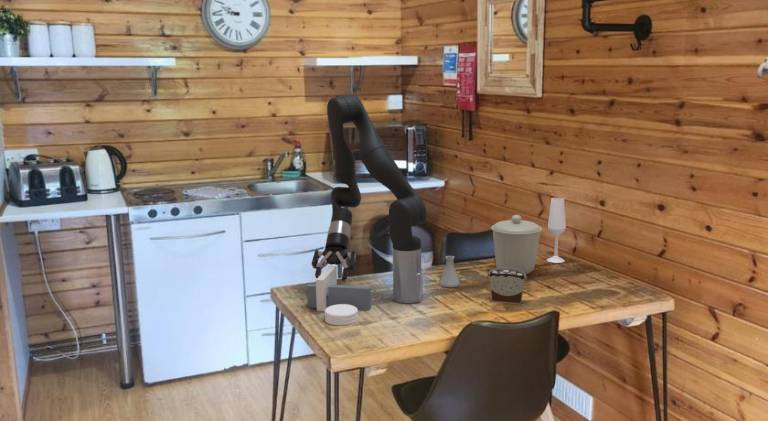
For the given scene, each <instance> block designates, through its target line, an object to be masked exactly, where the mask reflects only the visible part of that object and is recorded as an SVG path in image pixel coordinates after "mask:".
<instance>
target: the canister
mask: <svg viewBox="0 0 768 421" xmlns="http://www.w3.org/2000/svg"><path fill="white" fill-rule="evenodd" d="M490 230H491V231H492V238H493V239H492V240H493V248H494V256H495V264H496V265H495V266H496V268H516V269H520V270H522V271H524V272H525V274H526V275H528V274H530V273H532V272H533V271H534V269H535V267H536V263H537V256H538V249H539V242H540V235H541V232H542V231H543V228H542V226H541V225H539V224H537V223H536V222H532V221H529V220H522V216H521V215H519V214H514V215H512V216H511V219H508V220H501V221H500V220H499V221H497V222H496V223H494V224H492V225H491V226H490Z"/></svg>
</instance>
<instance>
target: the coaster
mask: <svg viewBox="0 0 768 421" xmlns="http://www.w3.org/2000/svg"><path fill="white" fill-rule="evenodd" d="M358 312H359V310H358V309H357V308H356V307H355V306H352V305H347V304H338V305H332V306H329V307H328V308H326V309H325V311H324V321H325V322H326V323H327V324H329V325H332V326H348V325H352V324H355V323H357V321H358V320H359V313H358Z"/></svg>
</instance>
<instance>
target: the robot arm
mask: <svg viewBox="0 0 768 421" xmlns="http://www.w3.org/2000/svg"><path fill="white" fill-rule="evenodd" d="M326 114H327V121H328V122H327V123H328V126H329V132H330V138H331V142H332V148H333V155H334V175H335V176H334V178H335V180H336V181H337V182H338V183H340V184H345V185H346V186H345V187H344V186H336V187H334V188H333V189H332V190H331V192H330V200H331V208H332V209H331V210H332V211H331V212H332V213H331V219H330V220H331V221H330V224H329V227H328V231H327V236H326V242H325V245H324V246H325V247H324V250H323V251H320V250H318V249H315V250H314V253H313V256H312V260H311V266H312V268H313V269H315V273H314V276H315V279H317V278H318V277H319V276H320V275H321V274H322V269H324V268H325V267H326V268H327V267H328V266H339V265H341V266H342V267H343V268H342V274H341V280H342V282H346V281H347V280H348V276H349V271H354V270H355V269H356V261H357V260H356V259H357V255H356V252H355V251H354V250H352V251H351V252H348V248H349V244H350V243H349V242H350V239H351V227H352V220H353V213H352V211H351V210H349V209H347V208H352V209H353V208H357V207H359V205H360V203H361V201H362V194H361V191H360V188H359V185H358V182H357V177H356V158H355V155H354V152H353V150H352V148H351V147H350V145H349V144H348V141H347V139H346V138H345V135H344V134H345V133H344V125H345V124H350V123H352V124H353V125H354V127H355V128H356V131H358V134H359V151H358V152H359V158H360V161H361V162H362V164H363V166H364V167H365V169H366V170H367V172H368V173H369V175H370V176H371V177H372V178H374V180H376V181H377V182H378V183H380V185H382V186H384V187H385V188H387V190H389V191H390V192H391V193H392V194H393V196H394V197H395V200H393V201H392V202H391V203H390V205H389V208H388V225H389V226H388V228H389V229H388V230H389V238H390V240H391V244H392V297H393V299H392V300H393V301H395V302H396V303H400V304H414V303H421V301H422V299H423V296H424V294H423V293H424V290H423V286H424V284H423V283H424V282H423V280H424V279H423V277H424V276H423V274H424V273H423V272H424V270H423V268H422V239H421V238H420V237H418V236H415V235H413V230H412V227H414V226H418V225H421V224H423V223H424V222H425V221H426V219H427V215H428V214H427V213H428V212H427V207H426V205H425V203H424V202H423V200H422V198H421V197H420V196H419V194H418V193H417V192H416V190H415V189H414V188H413V186H411V184H410V182H409V181H408V179H407V178H406V177H405V175H404V173H403V172H402V170H401V169H400V167H399V165H397V163H396V161H395V159H394V158H393V156H392V154H391V153H390V151H389V149H388V147H387V146H386V145H385V143H384V142H383V140H382V139H381V137H380V135H379V133H378V132H377V130H376V128H375V126H374V125H373V123H372V121H371V118H370V116H369V114H368V112H367V110H366V108H365V106H364V104H363V102H362V101H361V99H360V98H359V96H357V95H356V94H345V95H339V96H334V97H331V98H330V99H329V100H328V101H327V106H326ZM322 256H323V257H322ZM321 257H322V258H321ZM347 258H348V259H349V264H347V262H346V261H345V260H346V259H347ZM319 260H320V261H319Z"/></svg>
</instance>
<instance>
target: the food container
mask: <svg viewBox="0 0 768 421" xmlns="http://www.w3.org/2000/svg"><path fill="white" fill-rule="evenodd" d="M487 278H489V286H490V296H491V302H492V303H503V304H513V305H514V304H515V305H522V302H523V293H524V285H525V281H527V274H525V272H524V271H522V270H520V269H516V268H497V267H496V268H491V269H489V271H488V273H487Z"/></svg>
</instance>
